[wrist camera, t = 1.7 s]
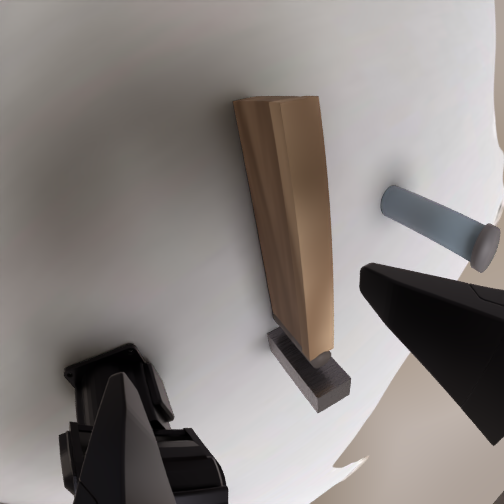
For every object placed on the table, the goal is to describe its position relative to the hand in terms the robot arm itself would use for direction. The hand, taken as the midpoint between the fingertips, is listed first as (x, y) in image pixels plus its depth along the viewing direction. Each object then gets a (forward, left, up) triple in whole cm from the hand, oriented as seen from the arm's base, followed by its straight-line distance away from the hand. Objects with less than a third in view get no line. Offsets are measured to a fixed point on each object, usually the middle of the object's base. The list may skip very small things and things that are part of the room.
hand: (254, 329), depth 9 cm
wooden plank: (+6, -4, -12) cm, 14 cm away
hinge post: (+6, -15, -12) cm, 20 cm away
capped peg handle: (+19, -6, -12) cm, 23 cm away
